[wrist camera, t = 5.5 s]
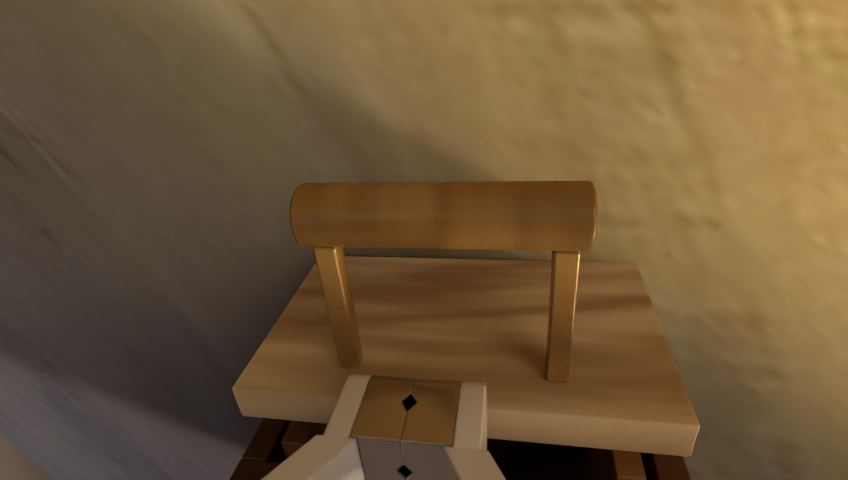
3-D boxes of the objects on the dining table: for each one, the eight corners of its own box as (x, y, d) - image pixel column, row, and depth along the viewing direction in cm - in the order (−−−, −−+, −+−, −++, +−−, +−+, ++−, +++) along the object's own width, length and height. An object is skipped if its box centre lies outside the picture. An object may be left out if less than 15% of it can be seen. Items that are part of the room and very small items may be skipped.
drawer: (290, 119, 17) (160, 210, 11) (662, 106, 15) (766, 212, 9) (367, 470, 27) (323, 622, 21) (597, 495, 25) (624, 675, 19)
